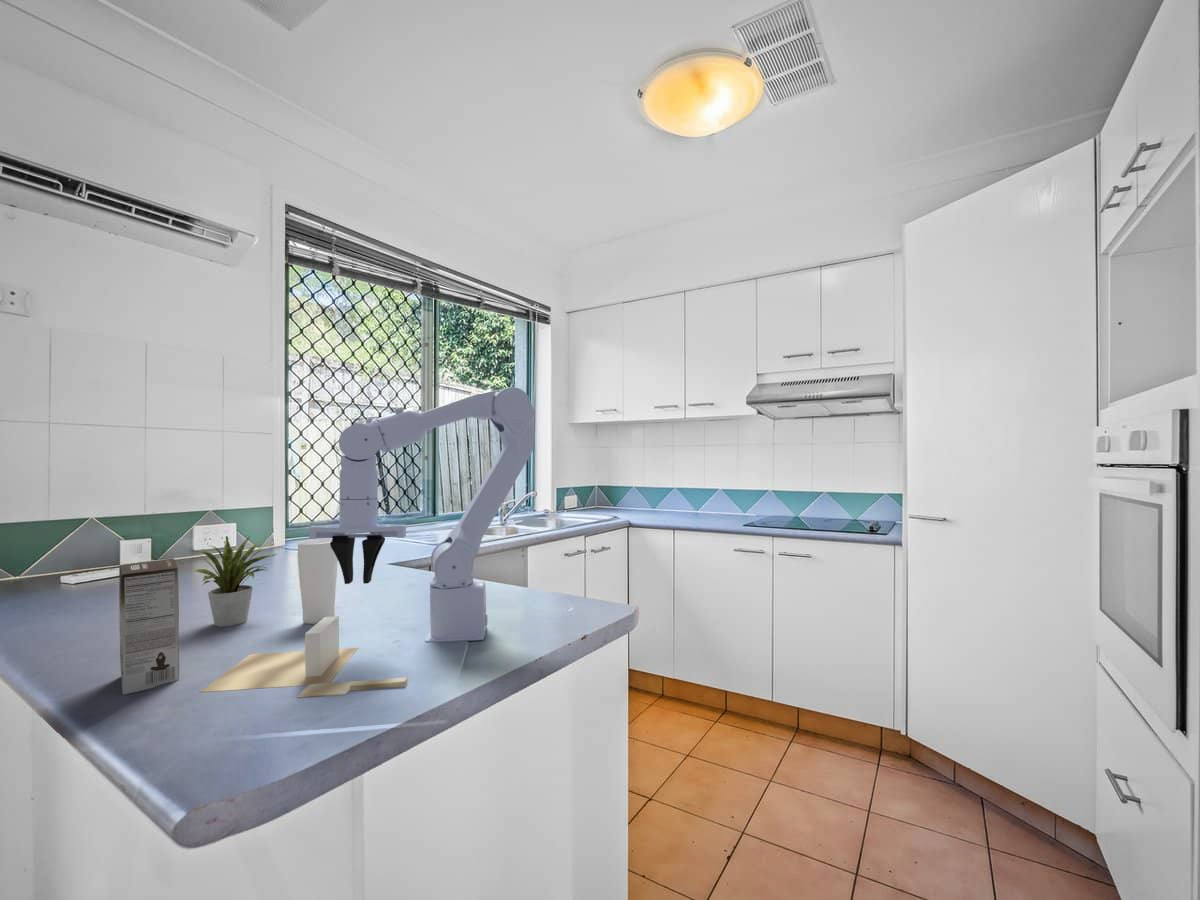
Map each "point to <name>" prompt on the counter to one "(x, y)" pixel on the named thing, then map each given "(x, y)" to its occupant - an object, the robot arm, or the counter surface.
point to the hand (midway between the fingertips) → (358, 582)
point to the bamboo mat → (275, 671)
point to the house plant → (231, 584)
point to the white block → (321, 646)
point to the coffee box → (149, 624)
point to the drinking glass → (317, 579)
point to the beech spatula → (350, 687)
